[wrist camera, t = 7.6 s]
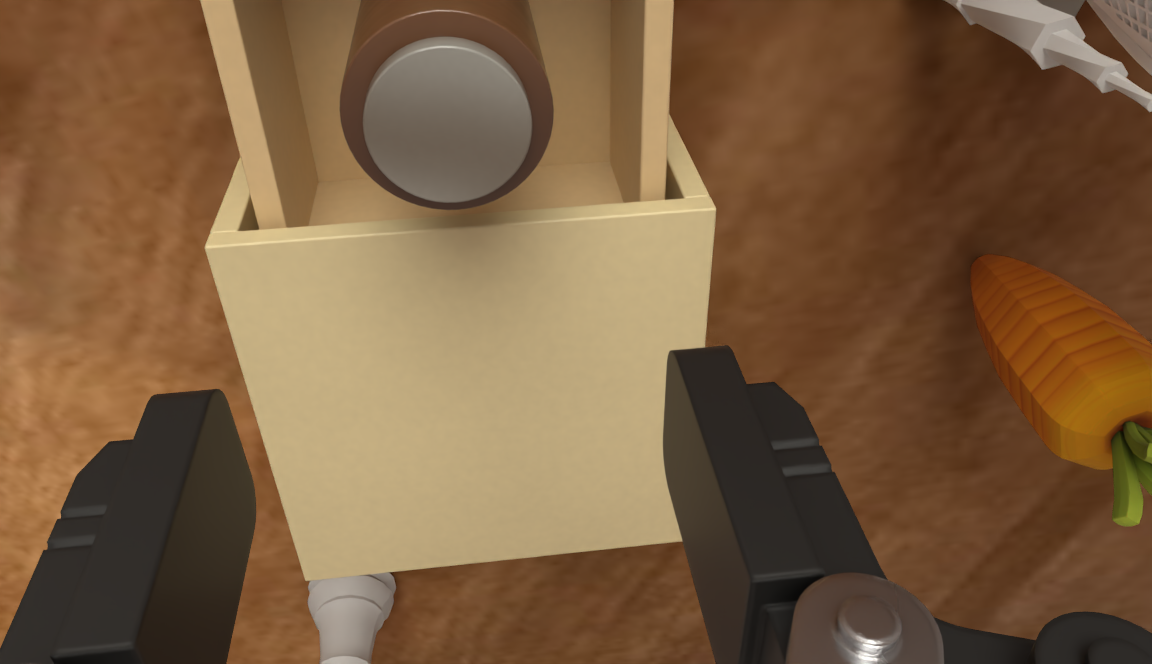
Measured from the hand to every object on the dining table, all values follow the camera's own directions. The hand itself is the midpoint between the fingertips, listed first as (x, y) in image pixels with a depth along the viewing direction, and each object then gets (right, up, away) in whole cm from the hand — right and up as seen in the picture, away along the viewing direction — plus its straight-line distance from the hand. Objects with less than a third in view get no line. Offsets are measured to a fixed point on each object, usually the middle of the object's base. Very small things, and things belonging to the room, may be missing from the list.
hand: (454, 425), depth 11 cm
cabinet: (-2, +4, +26) cm, 27 cm away
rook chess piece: (-10, -12, +37) cm, 40 cm away
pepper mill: (-2, +13, +17) cm, 21 cm away
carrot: (+19, +4, +29) cm, 35 cm away
